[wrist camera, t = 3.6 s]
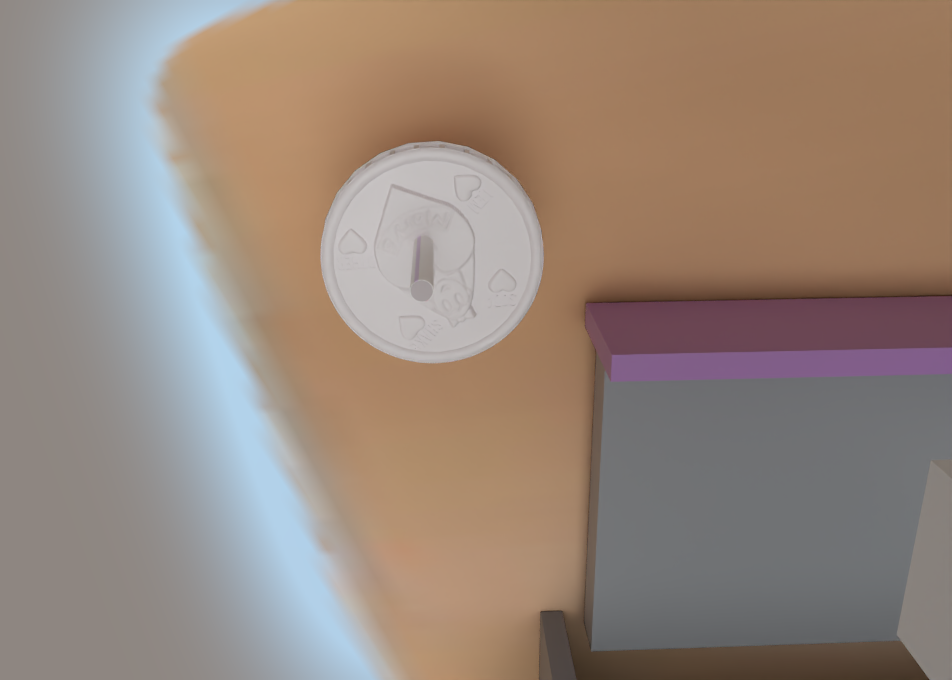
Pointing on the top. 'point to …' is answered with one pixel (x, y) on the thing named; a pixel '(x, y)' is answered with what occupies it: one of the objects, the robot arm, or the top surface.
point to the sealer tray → (760, 467)
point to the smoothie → (432, 252)
